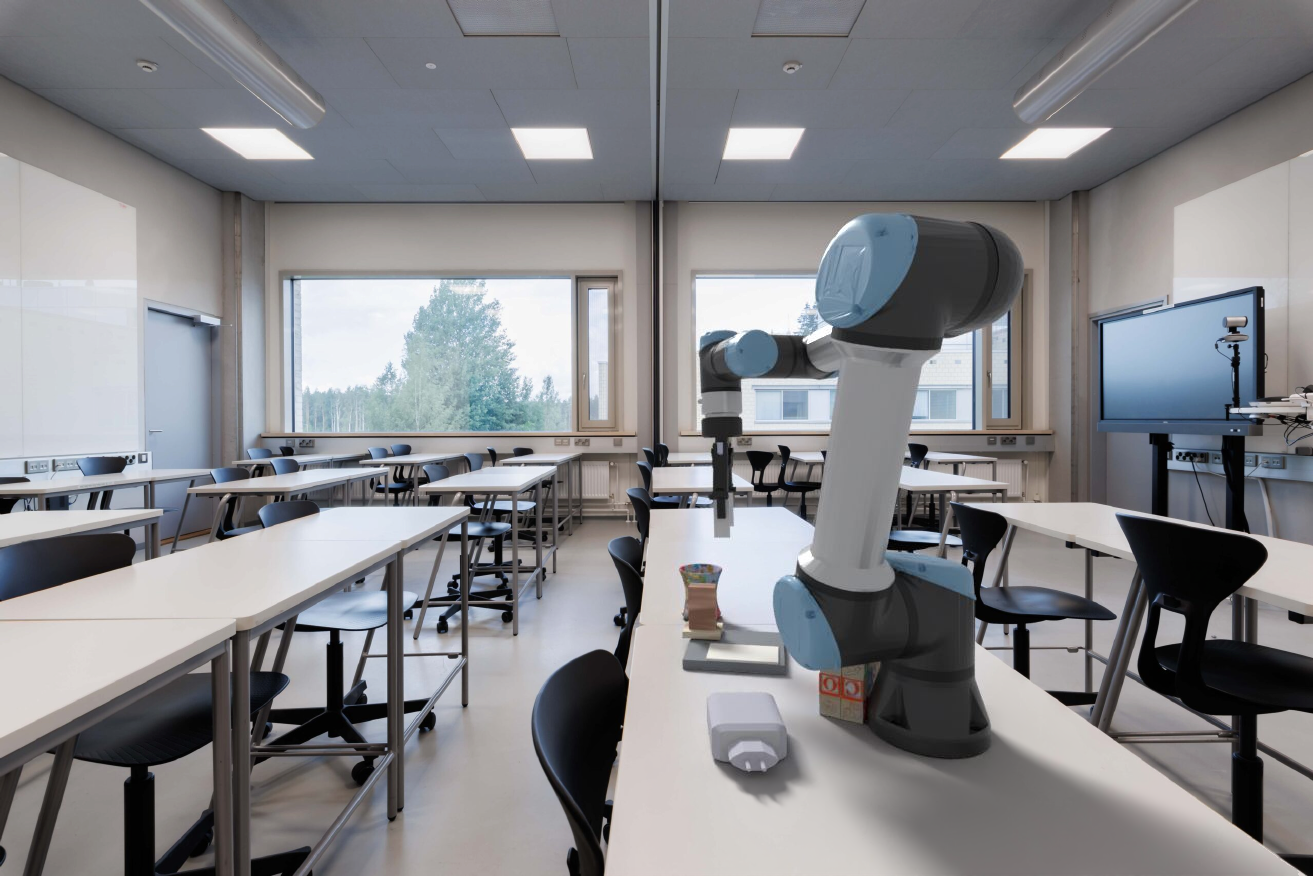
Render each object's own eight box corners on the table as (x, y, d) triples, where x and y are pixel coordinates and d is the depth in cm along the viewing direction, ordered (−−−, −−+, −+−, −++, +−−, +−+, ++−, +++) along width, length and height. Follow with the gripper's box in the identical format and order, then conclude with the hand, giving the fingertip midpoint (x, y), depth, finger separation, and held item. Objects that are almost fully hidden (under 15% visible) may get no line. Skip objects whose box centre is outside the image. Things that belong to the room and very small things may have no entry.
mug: (726, 624, 126) (725, 573, 126) (681, 625, 125) (680, 574, 125) (718, 606, 138) (717, 560, 138) (677, 607, 137) (676, 561, 137)
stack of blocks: (864, 726, 83) (863, 636, 82) (818, 716, 86) (817, 629, 86) (890, 670, 101) (890, 597, 101) (852, 663, 104) (851, 592, 104)
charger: (716, 792, 69) (707, 726, 84) (798, 791, 68) (774, 725, 83) (715, 750, 68) (706, 692, 83) (797, 750, 68) (773, 691, 83)
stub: (720, 640, 111) (719, 590, 111) (682, 638, 113) (681, 588, 112) (723, 629, 117) (722, 581, 117) (687, 627, 119) (686, 580, 118)
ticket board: (784, 674, 100) (784, 663, 100) (682, 668, 103) (682, 657, 103) (783, 640, 115) (783, 630, 115) (695, 636, 119) (694, 626, 119)
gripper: (707, 419, 125) (710, 522, 125) (693, 414, 100) (697, 542, 100) (744, 417, 123) (746, 522, 123) (739, 412, 99) (743, 542, 99)
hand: (724, 531), depth 112 cm, fingers open, 13 cm apart
